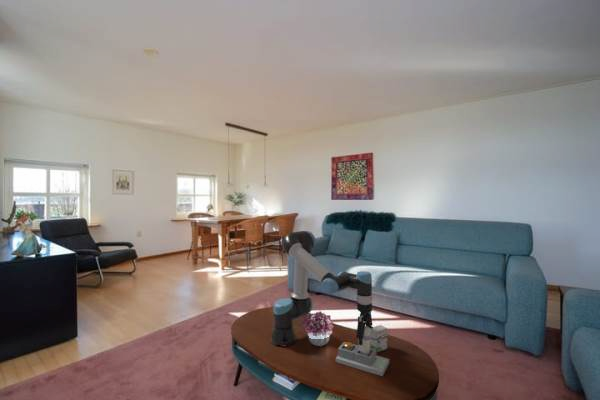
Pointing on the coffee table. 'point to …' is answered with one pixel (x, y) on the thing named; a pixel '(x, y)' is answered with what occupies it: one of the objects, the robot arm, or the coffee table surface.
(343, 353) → the housing
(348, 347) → the orange piece
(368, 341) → the cartridge
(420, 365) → the coffee table surface
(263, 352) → the coffee table surface
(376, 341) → the ink box
